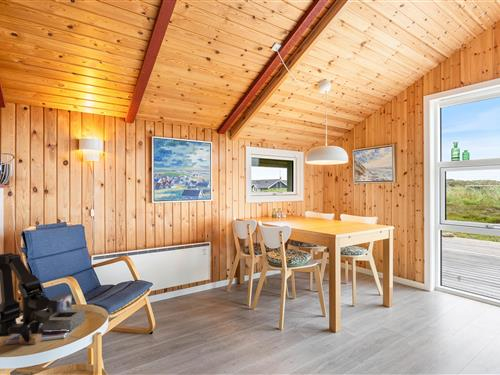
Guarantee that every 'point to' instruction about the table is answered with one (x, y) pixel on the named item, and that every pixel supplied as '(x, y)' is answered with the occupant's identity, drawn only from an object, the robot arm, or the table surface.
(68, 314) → the grey slotted block
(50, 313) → the robot arm
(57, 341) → the table surface
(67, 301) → the small box
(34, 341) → the tan rectangular block
